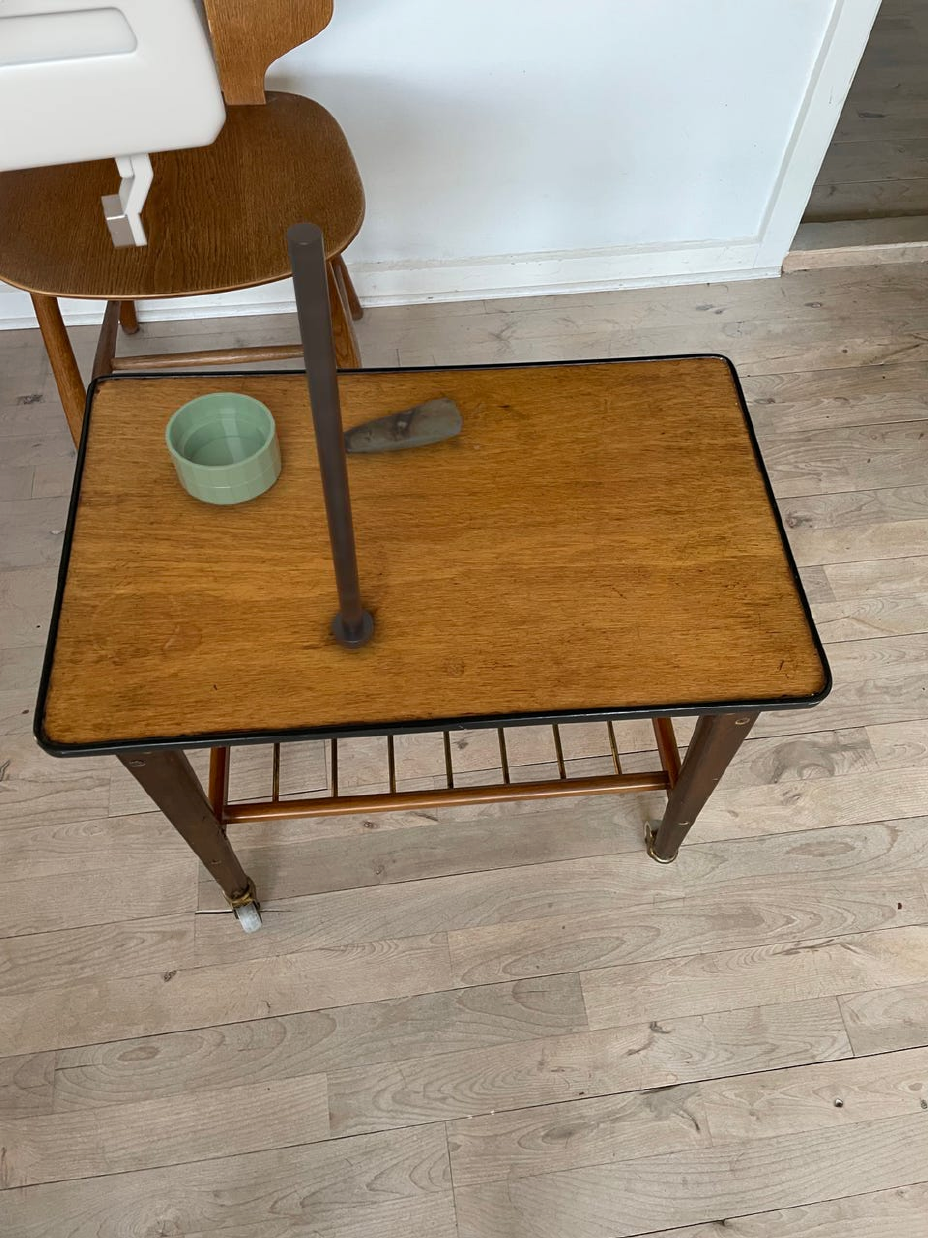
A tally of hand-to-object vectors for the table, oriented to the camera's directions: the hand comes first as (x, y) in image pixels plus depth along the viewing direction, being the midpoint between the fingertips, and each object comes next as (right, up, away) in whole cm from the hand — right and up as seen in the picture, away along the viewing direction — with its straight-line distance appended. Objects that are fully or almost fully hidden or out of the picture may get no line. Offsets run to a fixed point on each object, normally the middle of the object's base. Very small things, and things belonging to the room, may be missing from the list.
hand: (25, 256), depth 39 cm
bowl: (-3, -2, +45) cm, 45 cm away
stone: (+14, +2, +49) cm, 51 cm away
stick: (+11, -18, +35) cm, 41 cm away
